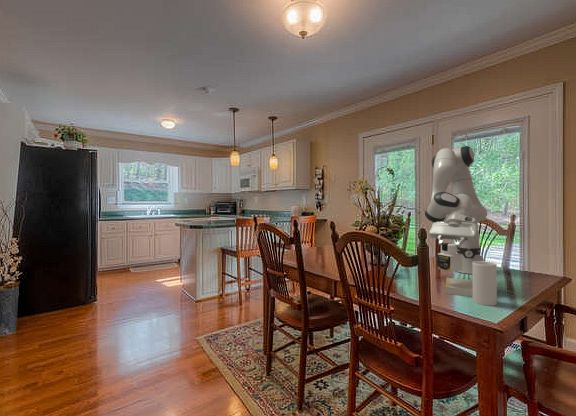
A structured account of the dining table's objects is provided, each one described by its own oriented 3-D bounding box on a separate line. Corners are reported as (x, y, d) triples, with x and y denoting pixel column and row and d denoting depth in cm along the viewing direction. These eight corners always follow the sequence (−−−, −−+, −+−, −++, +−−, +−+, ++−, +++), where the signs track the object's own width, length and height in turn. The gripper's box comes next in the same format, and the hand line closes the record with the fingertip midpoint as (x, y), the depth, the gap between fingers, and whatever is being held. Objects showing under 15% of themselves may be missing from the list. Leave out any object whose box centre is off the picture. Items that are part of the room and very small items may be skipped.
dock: (446, 283, 151) (446, 277, 151) (474, 286, 145) (474, 280, 145) (445, 293, 135) (445, 286, 135) (477, 297, 129) (477, 290, 129)
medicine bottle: (437, 268, 140) (437, 242, 140) (448, 267, 142) (448, 241, 142) (450, 272, 133) (450, 244, 133) (462, 270, 136) (462, 243, 135)
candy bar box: (381, 273, 174) (381, 245, 174) (390, 273, 173) (390, 245, 172) (383, 278, 163) (383, 248, 163) (393, 278, 162) (393, 248, 162)
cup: (468, 298, 127) (468, 260, 127) (489, 299, 127) (489, 261, 126) (479, 305, 119) (478, 265, 119) (501, 305, 118) (501, 265, 118)
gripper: (431, 217, 150) (423, 239, 143) (479, 218, 135) (472, 243, 128) (435, 225, 153) (427, 247, 146) (482, 228, 138) (475, 252, 131)
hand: (449, 245), depth 137 cm, fingers closed on medicine bottle, 6 cm apart
